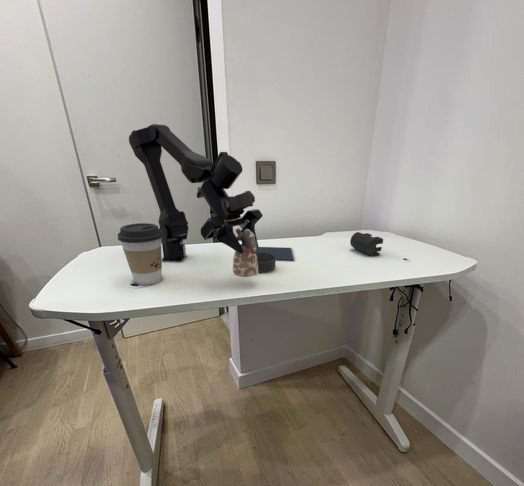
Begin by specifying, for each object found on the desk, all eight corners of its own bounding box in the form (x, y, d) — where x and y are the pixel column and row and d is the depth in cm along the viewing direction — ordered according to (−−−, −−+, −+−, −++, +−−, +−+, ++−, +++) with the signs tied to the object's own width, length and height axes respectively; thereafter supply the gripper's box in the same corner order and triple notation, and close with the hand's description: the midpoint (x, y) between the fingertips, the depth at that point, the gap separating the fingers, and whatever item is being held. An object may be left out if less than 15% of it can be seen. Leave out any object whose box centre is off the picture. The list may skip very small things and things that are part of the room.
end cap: (348, 249, 114) (351, 232, 110) (362, 247, 116) (365, 231, 113) (366, 257, 105) (369, 239, 102) (381, 255, 108) (385, 237, 105)
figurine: (253, 278, 76) (254, 233, 71) (228, 275, 78) (227, 230, 72) (261, 269, 82) (263, 227, 77) (238, 266, 84) (237, 224, 78)
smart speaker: (279, 271, 91) (280, 259, 89) (252, 274, 88) (252, 262, 86) (269, 262, 98) (269, 250, 96) (244, 264, 96) (244, 253, 94)
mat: (235, 259, 100) (235, 258, 100) (239, 247, 113) (239, 246, 113) (293, 260, 100) (293, 259, 100) (290, 248, 113) (290, 247, 112)
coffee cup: (157, 290, 77) (148, 233, 70) (118, 286, 79) (105, 230, 72) (175, 274, 87) (169, 223, 80) (140, 271, 88) (131, 221, 82)
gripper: (205, 182, 65) (242, 240, 64) (258, 177, 78) (289, 226, 77) (186, 212, 73) (218, 265, 72) (237, 204, 86) (264, 248, 85)
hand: (249, 250), depth 76 cm, fingers closed on figurine, 6 cm apart
